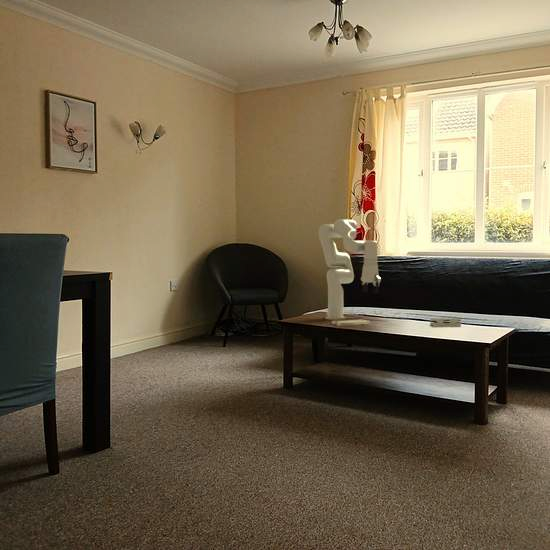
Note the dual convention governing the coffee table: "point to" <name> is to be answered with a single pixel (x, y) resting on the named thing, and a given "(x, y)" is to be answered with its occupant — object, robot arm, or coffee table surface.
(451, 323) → the grey rounded slab
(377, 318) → the coffee table surface
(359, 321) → the cabinet panel
